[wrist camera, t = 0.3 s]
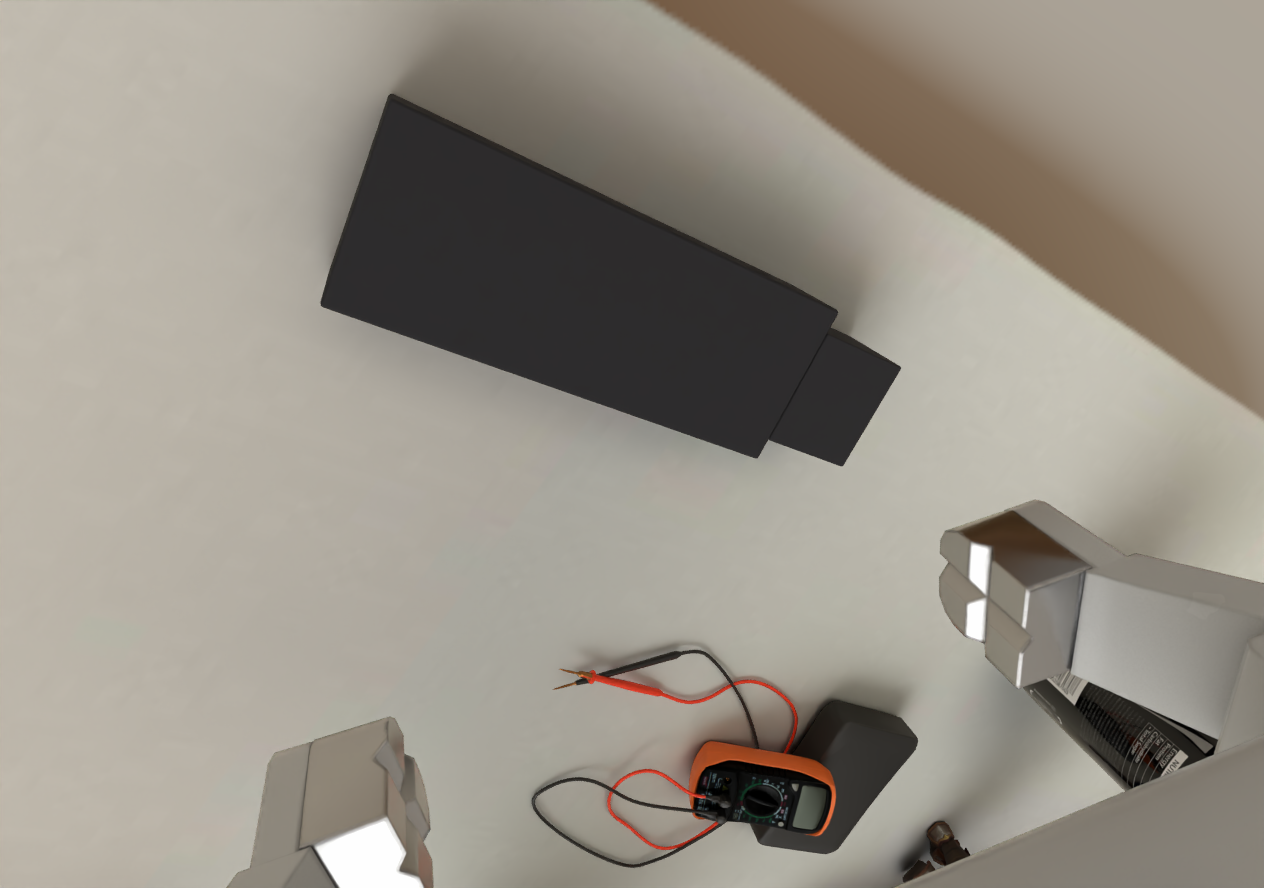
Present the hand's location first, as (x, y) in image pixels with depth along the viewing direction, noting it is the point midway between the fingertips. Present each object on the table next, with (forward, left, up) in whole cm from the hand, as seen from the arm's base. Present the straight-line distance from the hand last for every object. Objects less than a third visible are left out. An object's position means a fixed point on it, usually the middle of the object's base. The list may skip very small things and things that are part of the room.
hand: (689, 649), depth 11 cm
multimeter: (+21, +2, -14) cm, 25 cm away
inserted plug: (0, +3, -14) cm, 14 cm away
